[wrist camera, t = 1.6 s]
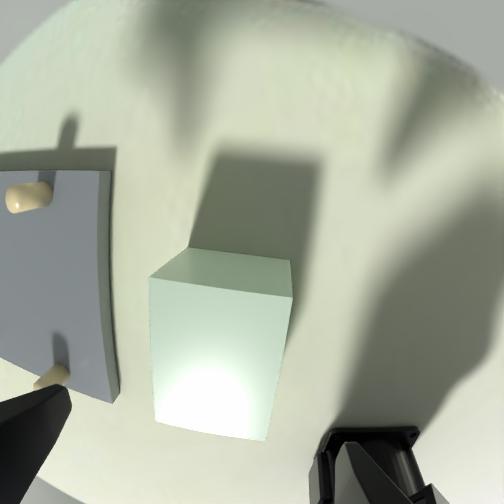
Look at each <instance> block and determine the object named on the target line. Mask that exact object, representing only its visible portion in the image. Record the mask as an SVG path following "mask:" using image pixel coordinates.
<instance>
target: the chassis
mask: <svg viewBox="0 0 504 504" xmlns="http://www.w3.org/2000/svg"><path fill="white" fill-rule="evenodd" d="M110 184H111V171H98V170H22V171H0V357H1V358H3V359H5V360H7V361H9V362H11V363H13V364H15V365H17V366H19V367H21V368H23V369H25V370H27V371H29V372H32V373H34V374H36V375H38V376H40V378H39V379H38V380H37V381H36V382H35V383H34V385H33V386H34V390H35V391H36V390H39V389H41V388H44V387H47V386H50V385H53V384H60V385H62V386H65V387H67V388H69V389H72V390H75V391H77V392H80V393H83V394H85V395H88V396H91V397H94V398H97V399H100V400H102V401H105V402H109V403H112V404H113V402H114V401H115V399H116V398H117V397H118V395H119V394H120V391H119V384H118V377H117V370H116V362H115V353H114V343H113V333H112V321H111V306H110V287H109V204H110Z"/></svg>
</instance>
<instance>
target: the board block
mask: <svg viewBox="0 0 504 504" xmlns="http://www.w3.org/2000/svg"><path fill="white" fill-rule="evenodd" d="M292 300H293V293H292V280H291V268H290V260H285V259H277V258H270V257H262V256H254V255H246V254H238V253H230V252H222V251H214V250H207V249H199V248H191V247H187V248H186V249H184V250H183V251H182V252H181V253H179V254H178V255H177V256H175V257H174V258H173V259H172V260H170V261H169V262H168V263H166V264H165V265H164V266H163V267H161V268H160V269H159V270H157V271H156V272H155V273H154V274H152V275H151V276H150V277H149V328H150V352H151V370H152V385H153V397H154V408H155V418H156V421H158V422H162V423H166V424H170V425H174V426H179V427H183V428H188V429H192V430H197V431H202V432H207V433H213V434H218V435H224V436H230V437H237V438H244V439H251V440H259V441H266V438H267V433H268V429H269V424H270V419H271V414H272V409H273V405H274V400H275V395H276V389H277V384H278V379H279V374H280V369H281V363H282V358H283V352H284V347H285V341H286V336H287V330H288V324H289V318H290V312H291V306H292Z"/></svg>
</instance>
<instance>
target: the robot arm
mask: <svg viewBox="0 0 504 504" xmlns="http://www.w3.org/2000/svg"><path fill="white" fill-rule="evenodd" d="M71 409H72V403H71V400H70V396H69V392H68V389H67V388H66V387H65V386H62V385H60V384H53V385H50V386H47V387H44V388H41V389H39V390H36V391H33V392H30V393H27V394H24V395H21V396H18V397H15V398H12V399H9V400H6V401H3V402H0V504H20V502H21V500H22V499H23V497H24V495H25V493H26V492H27V490H28V488H29V486H30V485H31V483H32V481H33V479H34V478H35V476H36V475H37V473H38V471H39V469H40V468H41V466H42V464H43V463H44V461H45V460H46V458H47V456H48V455H49V453H50V451H51V450H52V448H53V446H54V445H55V443H56V441H57V439H58V437H59V435H60V433H61V431H62V429H63V426H64V424H65V422H66V420H67V418H68V416H69V414H70V412H71ZM419 434H420V431H419V429H418V427H416V426H412V427H394V428H335V429H332V430H331V431H330V432H329V434H328V437H327V439H326V442H325V445H324V447H323V450H322V452H319V453H318V454H317V455H316V457H315V460H314V462H313V465H312V467H311V470H310V472H309V495H310V504H449V503H448V501H447V500H446V499H445V498H444V497H443V496H442V495H441V493H440V492H439V491H438V490H437V489H436V488H435V487H434V485H433V484H432V483H431V484H429V485H427V486H425V483H424V481H423V478H422V475H421V472H420V470H419V467H418V464H417V462H416V459H415V456H414V454H413V451H412V447H413V445H414V443H415V441H416V440H417V438H418V436H419ZM335 435H337V436H335Z"/></svg>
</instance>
